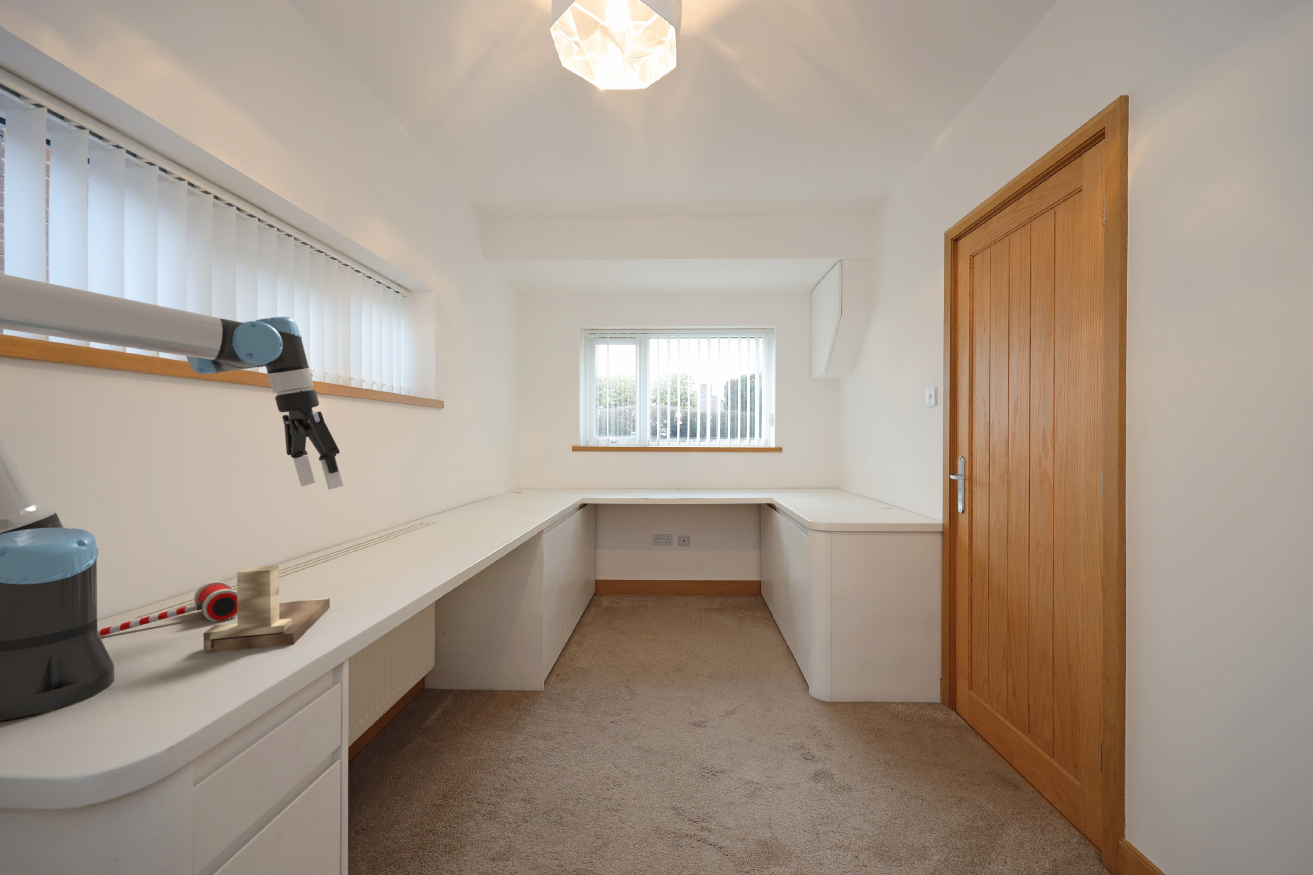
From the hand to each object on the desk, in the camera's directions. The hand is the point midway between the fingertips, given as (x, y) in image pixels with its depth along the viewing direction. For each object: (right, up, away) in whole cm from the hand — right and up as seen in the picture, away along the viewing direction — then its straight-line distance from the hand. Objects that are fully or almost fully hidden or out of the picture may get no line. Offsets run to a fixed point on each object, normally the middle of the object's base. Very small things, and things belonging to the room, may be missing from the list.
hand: (321, 486), depth 122 cm
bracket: (+2, -26, -24) cm, 35 cm away
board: (+1, -26, -15) cm, 30 cm away
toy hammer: (-22, -27, -11) cm, 36 cm away
